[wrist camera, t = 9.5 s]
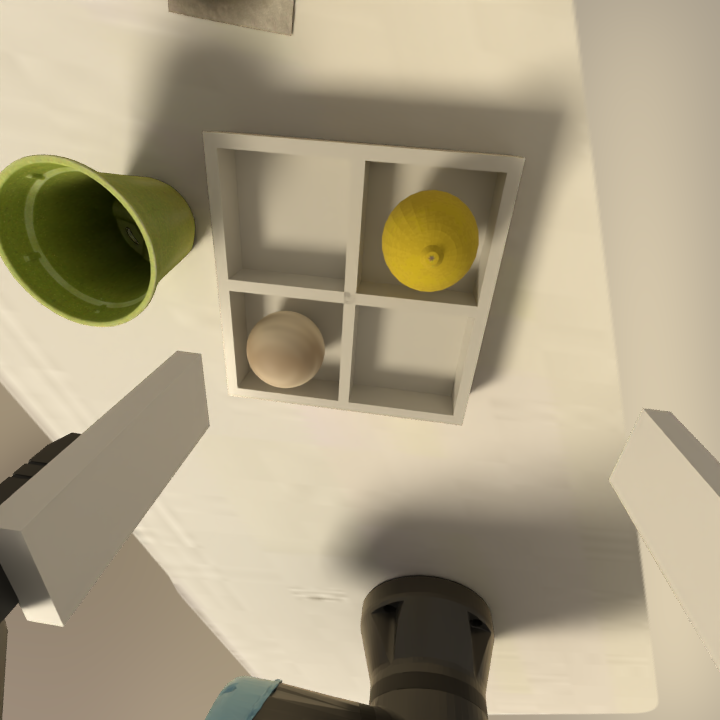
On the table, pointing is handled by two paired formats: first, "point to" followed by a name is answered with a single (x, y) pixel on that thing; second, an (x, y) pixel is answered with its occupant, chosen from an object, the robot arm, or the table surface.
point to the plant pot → (89, 237)
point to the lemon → (430, 240)
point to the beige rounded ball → (285, 349)
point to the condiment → (240, 12)
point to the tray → (352, 267)
